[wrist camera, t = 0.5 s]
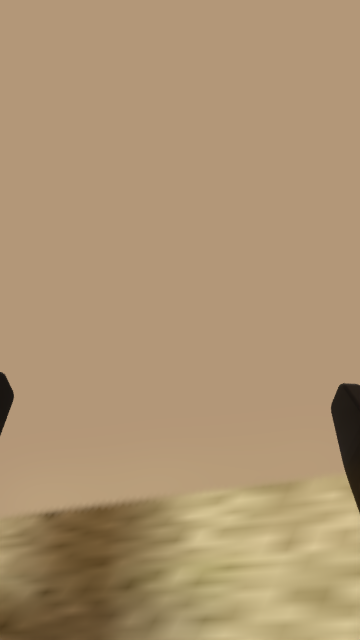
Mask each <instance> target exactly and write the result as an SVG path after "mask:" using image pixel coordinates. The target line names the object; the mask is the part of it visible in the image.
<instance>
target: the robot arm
mask: <svg viewBox="0 0 360 640" xmlns="http://www.w3.org/2000/svg"><path fill="white" fill-rule="evenodd" d="M13 398H14V394H13V390H12V388H11V386H10V384H9V382H8V380H7V378H6V376H5V374H3V373H2V372H0V435H1V432H2V429H3V427H4V424H5V421H6V419H7V416H8V413H9V410H10V408H11V405H12V402H13ZM331 413H332V417H333V421H334V426H335V430H336V435H337V439H338V443H339V447H340V452H341V456H342V461H343V465H344V468H345V472H346V475H347V478H348V481H349V484H350V487H351V490H352V493H353V495H354V498H355V501H356V504H357V507H358V510H359V513H360V385H358V384H345V383H343V384H341V385H339V387H338V390H337V392H336V395H335V397H334V399H333V402H332V405H331Z"/></svg>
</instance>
